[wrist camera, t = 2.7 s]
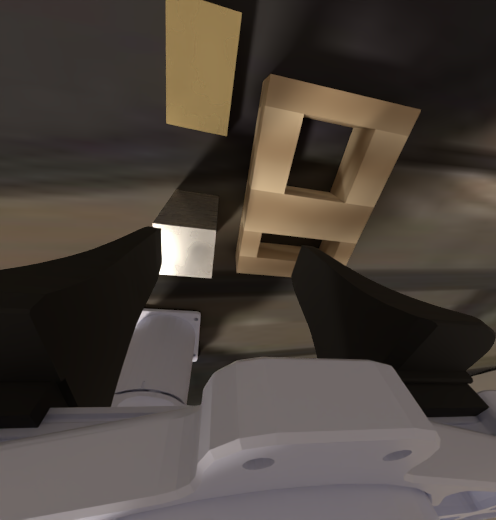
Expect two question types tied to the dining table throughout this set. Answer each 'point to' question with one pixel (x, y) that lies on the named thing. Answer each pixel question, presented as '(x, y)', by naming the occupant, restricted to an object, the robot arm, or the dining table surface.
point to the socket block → (307, 200)
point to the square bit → (188, 234)
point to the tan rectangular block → (200, 64)
